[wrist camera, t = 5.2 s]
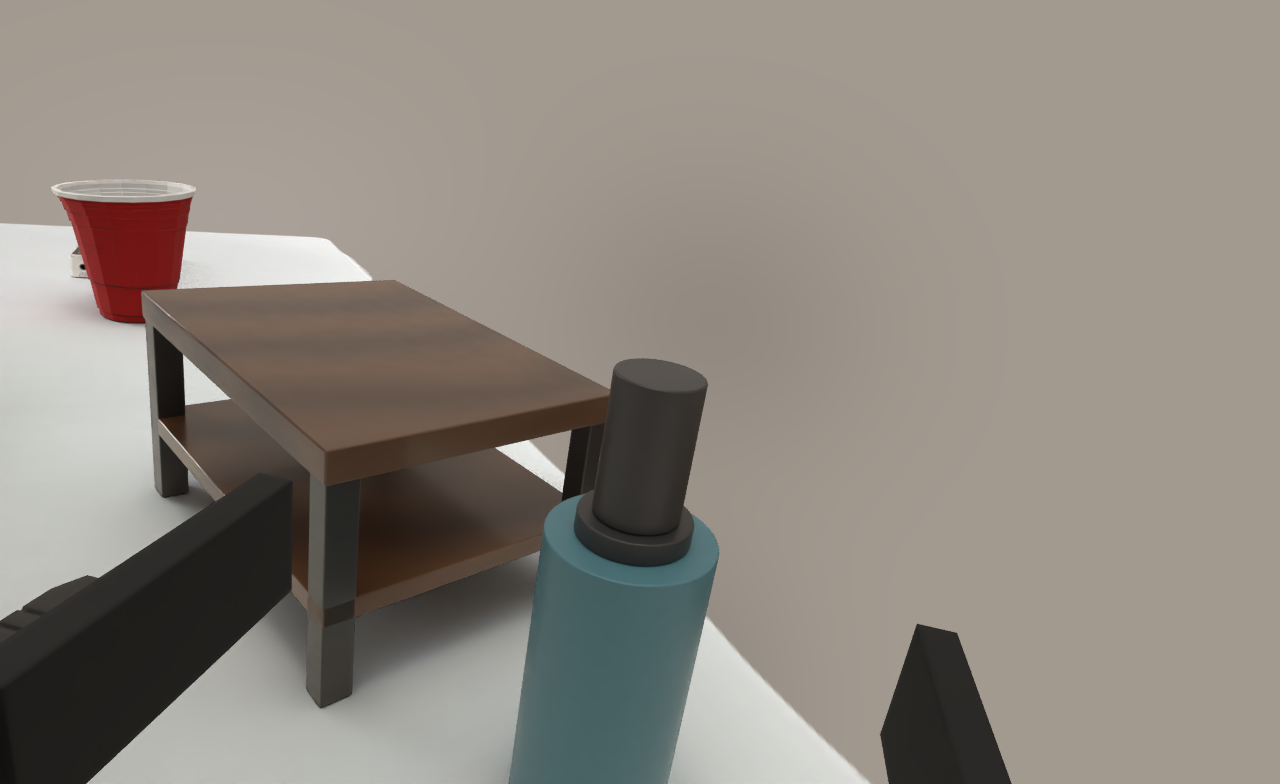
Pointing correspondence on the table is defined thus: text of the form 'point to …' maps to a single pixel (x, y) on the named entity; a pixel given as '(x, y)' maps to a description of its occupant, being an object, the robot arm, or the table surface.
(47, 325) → the table surface
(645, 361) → the capped bottle
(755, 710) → the table surface
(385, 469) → the coffee table
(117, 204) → the plastic cup
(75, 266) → the multiport hub
